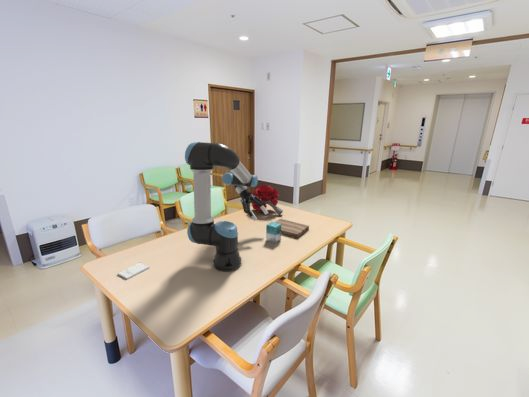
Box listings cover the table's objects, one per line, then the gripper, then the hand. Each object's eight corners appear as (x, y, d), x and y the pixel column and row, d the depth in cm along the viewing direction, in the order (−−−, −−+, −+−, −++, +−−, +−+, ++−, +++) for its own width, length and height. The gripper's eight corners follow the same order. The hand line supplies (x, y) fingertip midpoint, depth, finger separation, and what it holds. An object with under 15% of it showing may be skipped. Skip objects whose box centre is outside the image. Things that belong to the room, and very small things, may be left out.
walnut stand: (297, 238, 176) (297, 234, 175) (267, 230, 189) (267, 226, 188) (308, 229, 190) (309, 225, 189) (280, 222, 203) (280, 218, 202)
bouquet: (282, 217, 232) (257, 196, 241) (294, 197, 218) (267, 176, 227) (268, 226, 215) (242, 203, 224) (280, 206, 202) (252, 182, 211)
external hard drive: (149, 269, 139) (127, 280, 129) (140, 264, 144) (117, 275, 133) (149, 266, 139) (126, 277, 129) (139, 262, 143) (117, 272, 133)
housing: (275, 243, 169) (275, 227, 166) (266, 240, 173) (266, 224, 169) (280, 239, 174) (281, 223, 171) (271, 236, 178) (272, 221, 175)
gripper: (251, 190, 191) (268, 214, 187) (228, 198, 171) (247, 225, 167) (257, 184, 186) (274, 208, 183) (234, 192, 166) (253, 219, 163)
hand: (261, 216), depth 175 cm, fingers open, 13 cm apart
